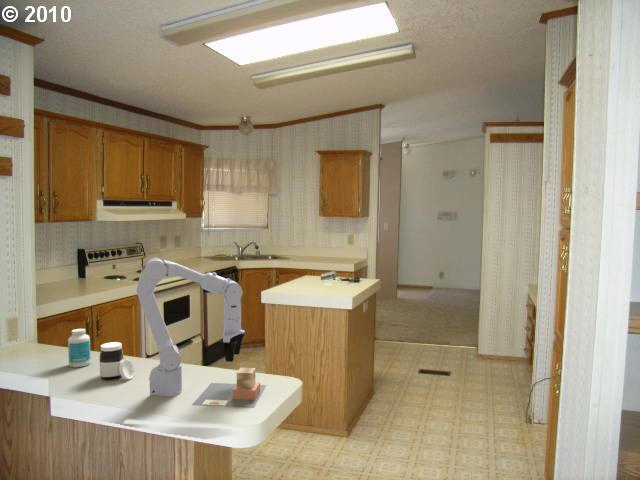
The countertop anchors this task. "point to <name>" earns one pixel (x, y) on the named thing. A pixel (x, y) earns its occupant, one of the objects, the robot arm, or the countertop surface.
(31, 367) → the countertop surface
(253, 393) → the terracotta slab
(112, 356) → the spread jar
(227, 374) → the countertop surface
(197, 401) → the grey square mat
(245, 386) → the oak cube
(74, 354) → the pill bottle
